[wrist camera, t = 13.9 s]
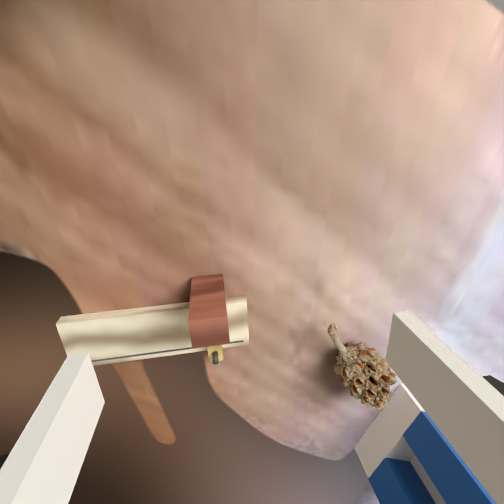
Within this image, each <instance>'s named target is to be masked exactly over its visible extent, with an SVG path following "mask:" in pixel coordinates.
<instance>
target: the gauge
mask: <svg viewBox="0 0 504 504" xmlns="http://www.w3.org/2000/svg"><path fill="white" fill-rule="evenodd" d="M188 324H189V330H190V337H191V343H192V349H193V348H201V347H207V350H208V357H209V362H213V364H218V363H219V361H221V360H223V352H222V345H223V344H230V338H229V327H228V317H227V308H226V300H225V292H224V283H223V275H222V274H219V275H210V276H201V277H192V280H191V292H190V303H189V315H188Z"/></svg>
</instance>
